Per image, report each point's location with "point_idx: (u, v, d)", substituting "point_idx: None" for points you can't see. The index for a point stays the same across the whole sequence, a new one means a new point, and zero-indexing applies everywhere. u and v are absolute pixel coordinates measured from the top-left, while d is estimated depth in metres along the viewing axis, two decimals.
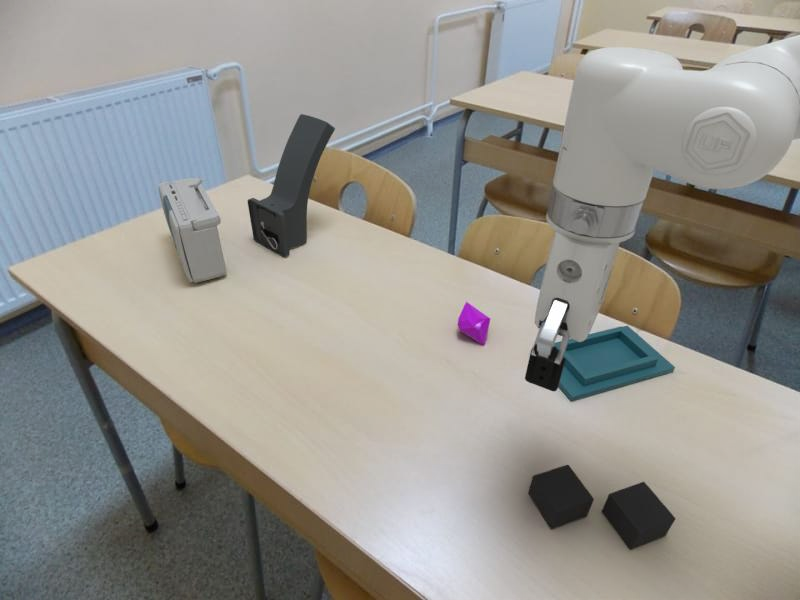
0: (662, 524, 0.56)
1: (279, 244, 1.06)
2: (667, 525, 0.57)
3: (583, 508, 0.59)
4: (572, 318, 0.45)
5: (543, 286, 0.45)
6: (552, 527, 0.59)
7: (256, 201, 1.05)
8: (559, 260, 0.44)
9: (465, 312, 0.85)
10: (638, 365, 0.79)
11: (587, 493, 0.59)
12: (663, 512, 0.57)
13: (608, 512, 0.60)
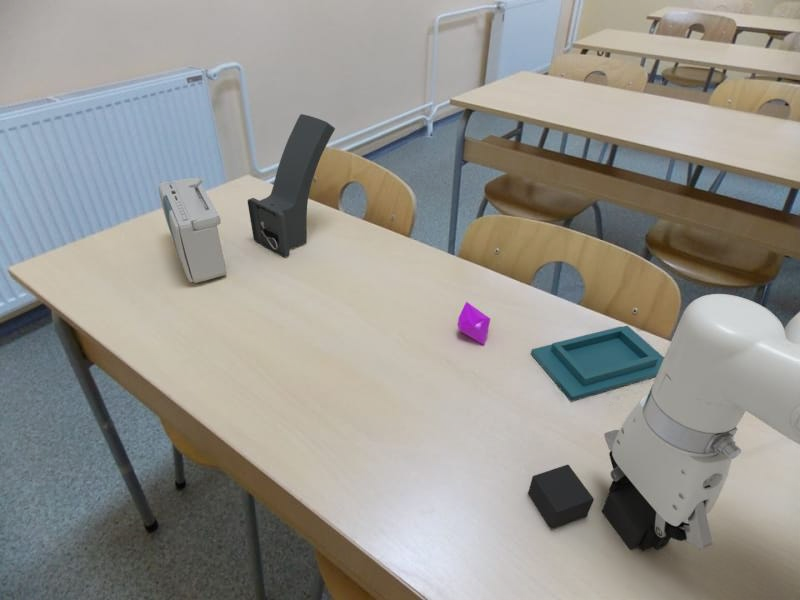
0: None
1: (279, 244, 1.06)
2: None
3: (583, 508, 0.59)
4: (708, 506, 0.51)
5: (688, 500, 0.49)
6: (552, 527, 0.59)
7: (256, 201, 1.05)
8: (705, 478, 0.47)
9: (465, 312, 0.85)
10: (638, 365, 0.79)
11: (587, 493, 0.59)
12: None
13: (608, 512, 0.60)
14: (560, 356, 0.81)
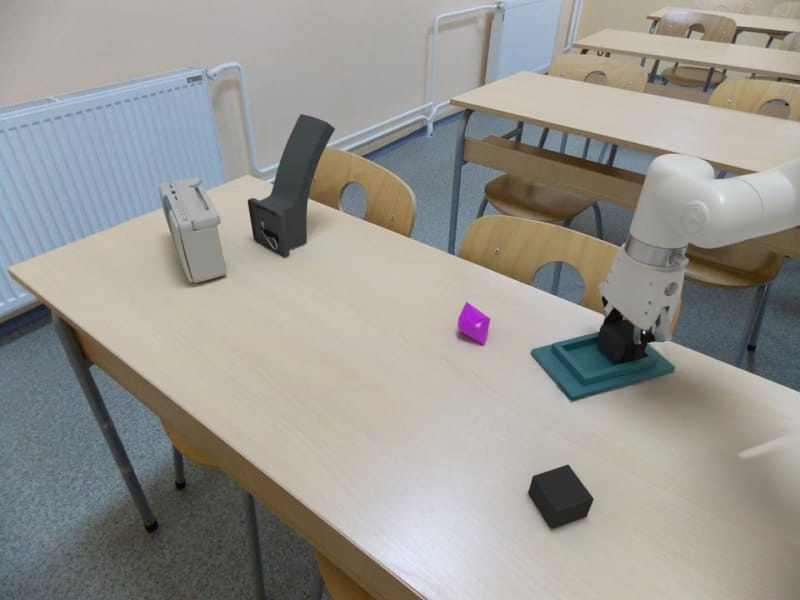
0: None
1: (279, 244, 1.06)
2: None
3: (583, 508, 0.59)
4: (670, 314, 0.72)
5: (655, 304, 0.70)
6: (552, 527, 0.59)
7: (256, 201, 1.05)
8: (665, 285, 0.69)
9: (465, 312, 0.85)
10: (638, 365, 0.79)
11: (587, 493, 0.59)
12: None
13: (600, 340, 0.82)
14: (560, 356, 0.81)
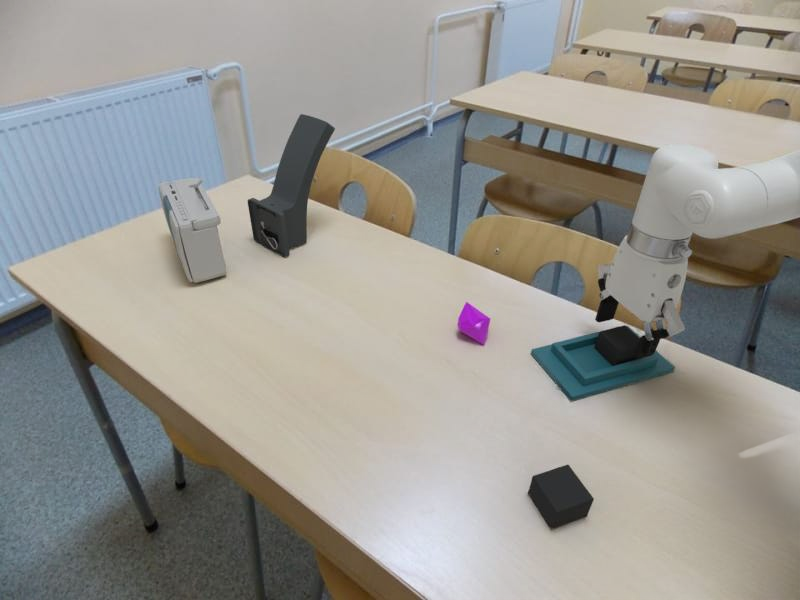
0: None
1: (279, 244, 1.06)
2: None
3: (583, 508, 0.59)
4: None
5: (657, 296, 0.70)
6: (552, 527, 0.59)
7: (256, 201, 1.05)
8: (668, 277, 0.68)
9: (465, 312, 0.85)
10: (638, 365, 0.79)
11: (587, 493, 0.59)
12: (638, 341, 0.80)
13: (599, 346, 0.82)
14: (560, 356, 0.81)
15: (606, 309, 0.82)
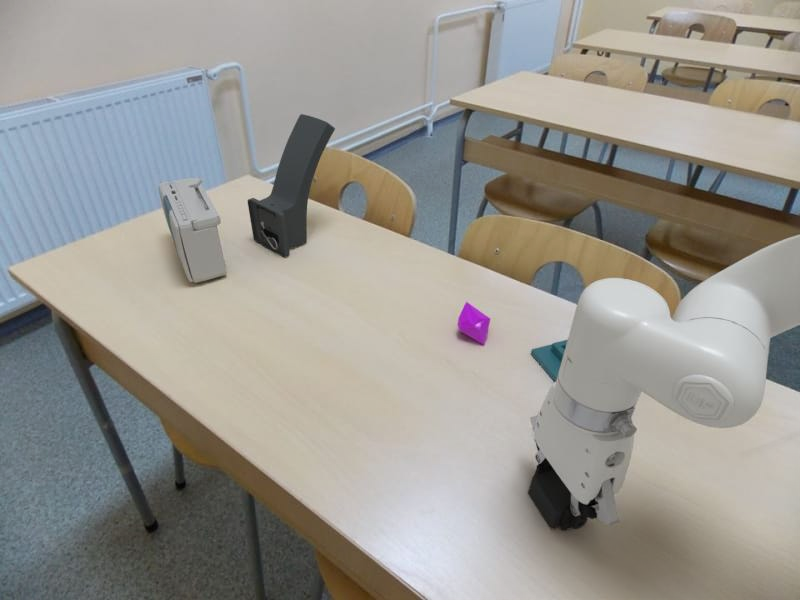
0: None
1: (279, 244, 1.06)
2: None
3: None
4: (616, 485, 0.52)
5: (593, 478, 0.50)
6: (552, 527, 0.59)
7: (256, 201, 1.05)
8: (607, 456, 0.49)
9: (465, 312, 0.85)
10: None
11: None
12: None
13: None
14: (560, 356, 0.81)
15: None
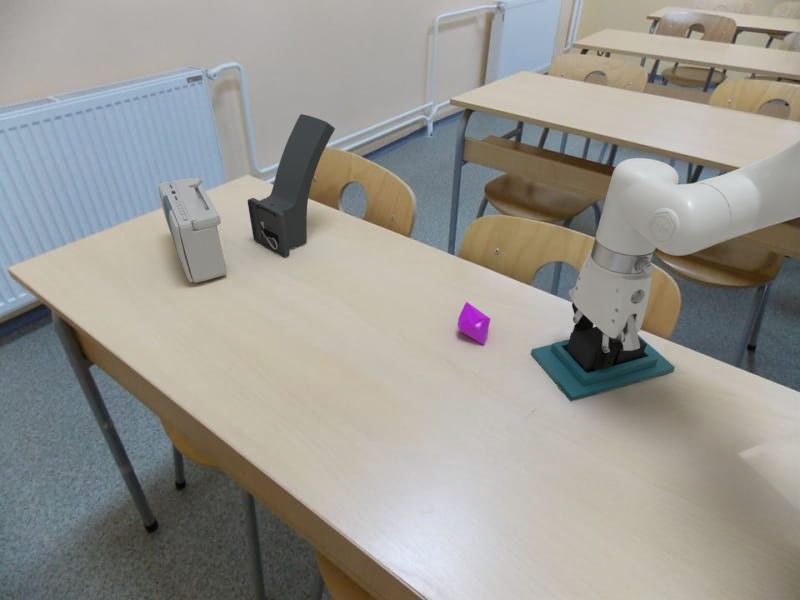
0: None
1: (279, 244, 1.06)
2: (641, 349, 0.79)
3: None
4: (637, 321, 0.71)
5: (621, 312, 0.69)
6: (586, 368, 0.77)
7: (256, 201, 1.05)
8: (632, 293, 0.67)
9: (465, 312, 0.85)
10: (638, 365, 0.79)
11: None
12: None
13: None
14: (560, 356, 0.81)
15: None
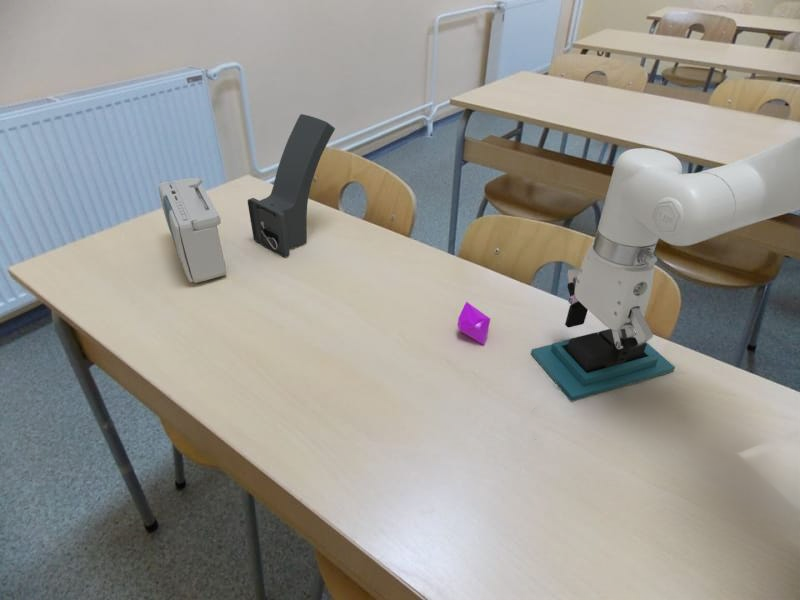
0: (637, 347, 0.79)
1: (279, 244, 1.06)
2: (641, 349, 0.79)
3: None
4: None
5: (624, 304, 0.68)
6: None
7: (256, 201, 1.05)
8: (634, 285, 0.67)
9: (465, 312, 0.85)
10: (638, 365, 0.79)
11: None
12: None
13: None
14: (560, 356, 0.81)
15: (576, 314, 0.80)
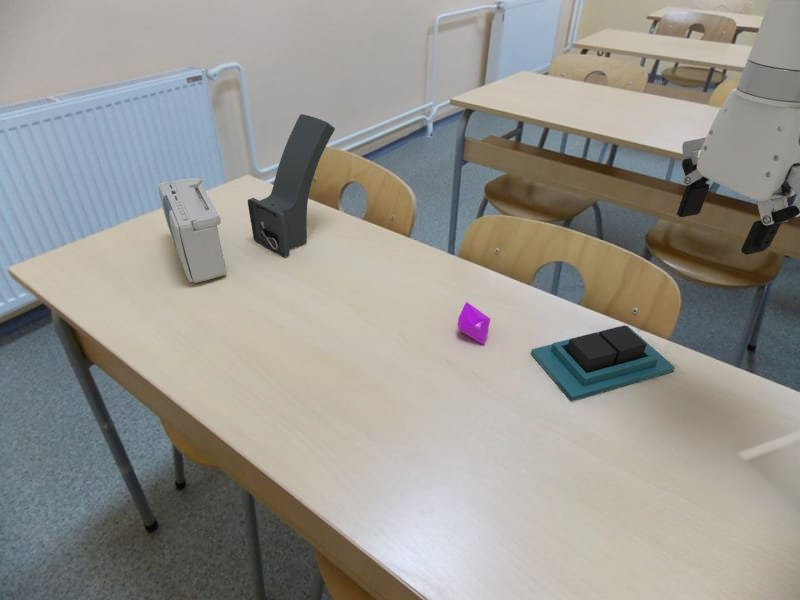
0: (637, 347, 0.79)
1: (279, 244, 1.06)
2: (641, 349, 0.79)
3: (608, 360, 0.78)
4: None
5: (783, 159, 0.52)
6: None
7: (256, 201, 1.05)
8: None
9: (465, 312, 0.85)
10: (638, 365, 0.79)
11: (611, 349, 0.78)
12: (638, 341, 0.80)
13: None
14: (560, 356, 0.81)
15: (693, 198, 0.64)
